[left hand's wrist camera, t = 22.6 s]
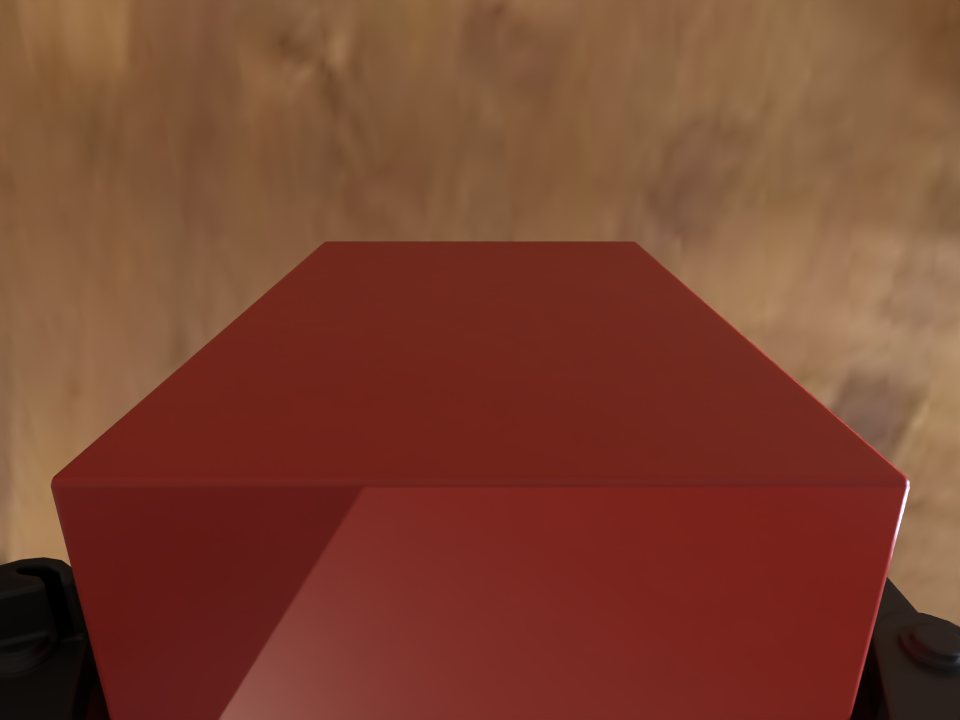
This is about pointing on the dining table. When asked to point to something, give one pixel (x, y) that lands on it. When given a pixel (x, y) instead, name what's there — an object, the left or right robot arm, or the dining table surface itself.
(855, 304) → the dining table surface
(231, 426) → the block
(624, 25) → the dining table surface
